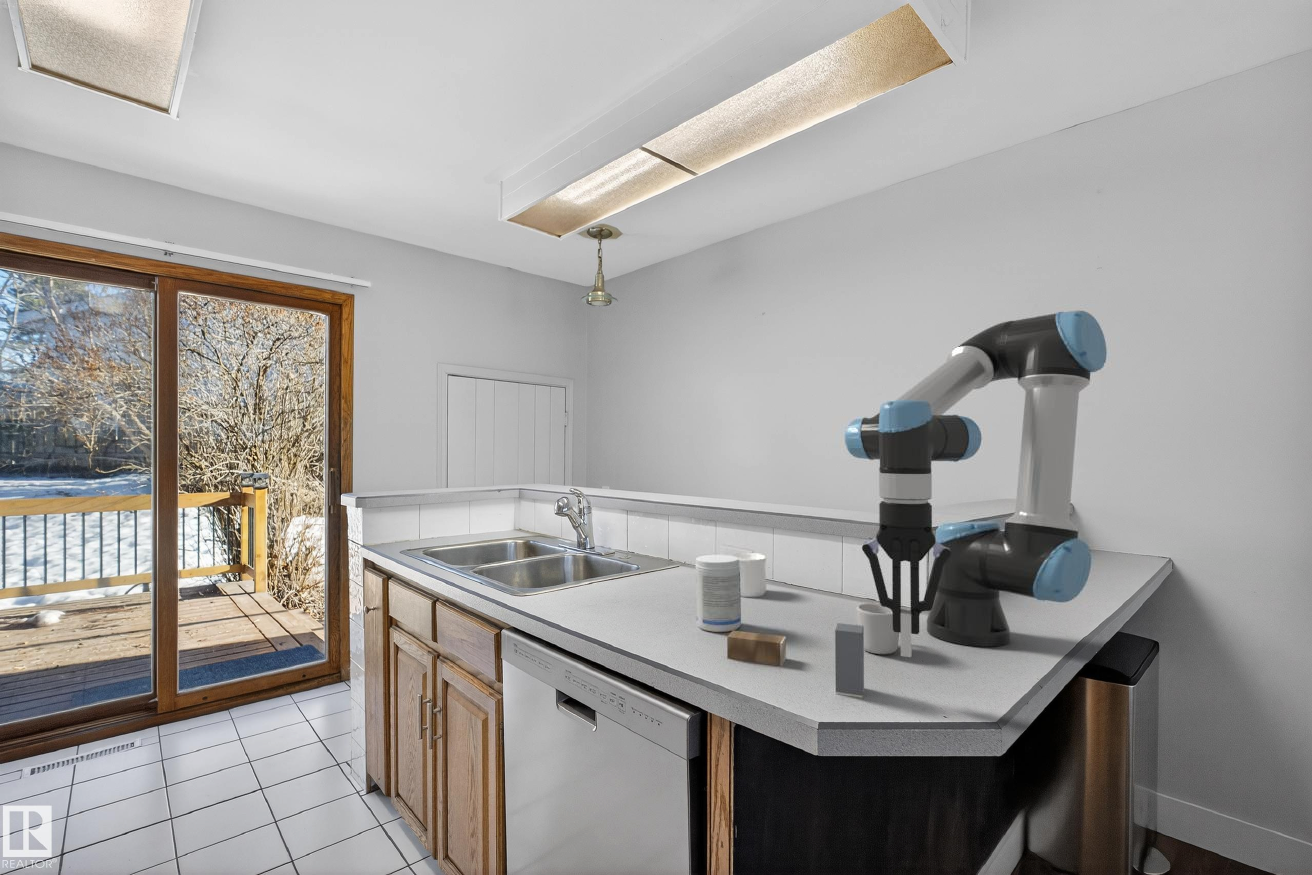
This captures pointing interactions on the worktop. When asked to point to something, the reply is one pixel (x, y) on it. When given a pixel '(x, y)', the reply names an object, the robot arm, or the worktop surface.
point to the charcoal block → (849, 659)
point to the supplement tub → (718, 593)
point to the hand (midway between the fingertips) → (906, 653)
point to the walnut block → (756, 647)
